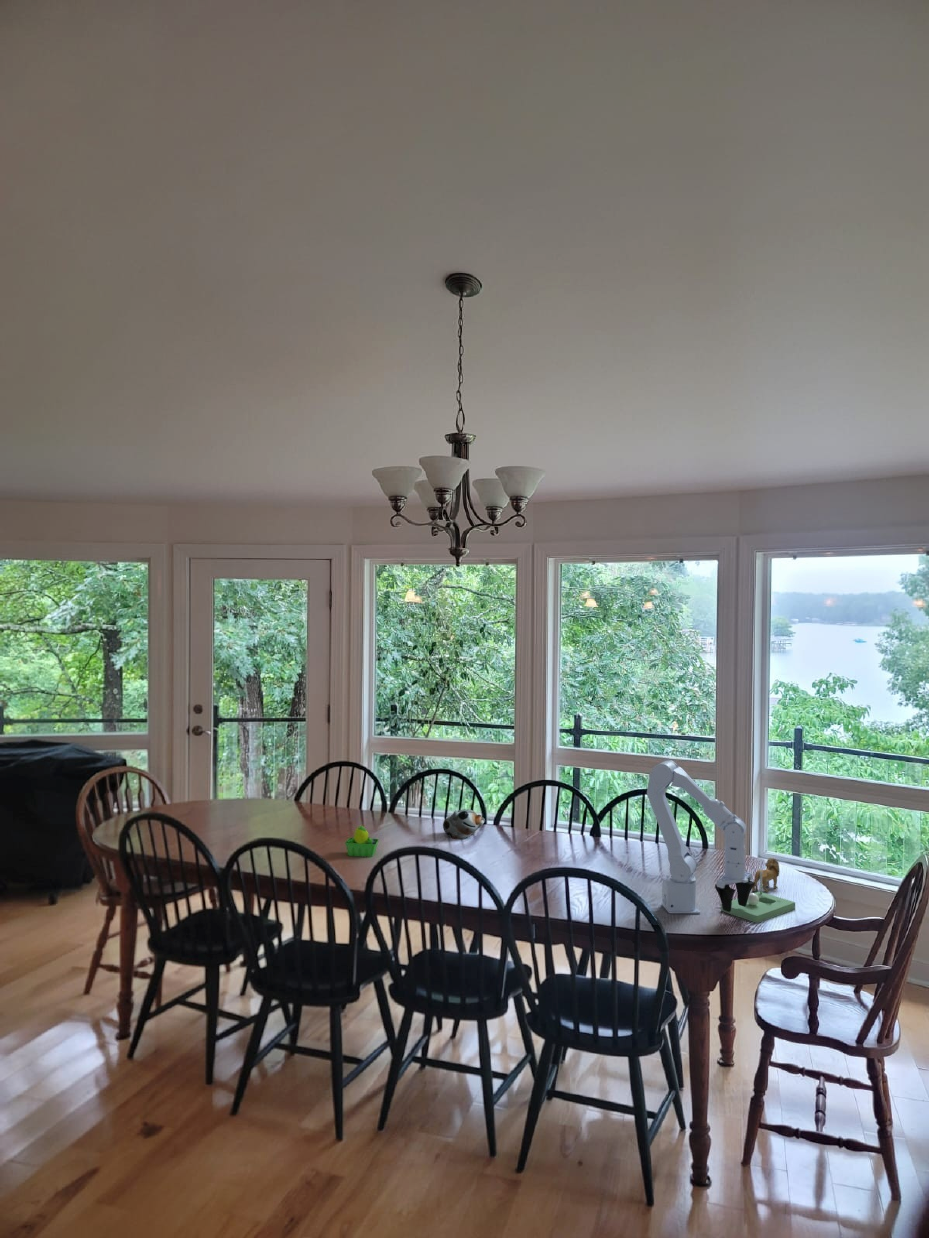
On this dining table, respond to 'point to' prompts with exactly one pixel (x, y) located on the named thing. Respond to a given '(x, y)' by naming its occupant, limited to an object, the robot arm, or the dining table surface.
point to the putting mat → (761, 906)
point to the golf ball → (753, 899)
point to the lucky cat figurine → (462, 823)
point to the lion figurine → (768, 874)
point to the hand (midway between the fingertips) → (734, 908)
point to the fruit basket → (361, 844)
